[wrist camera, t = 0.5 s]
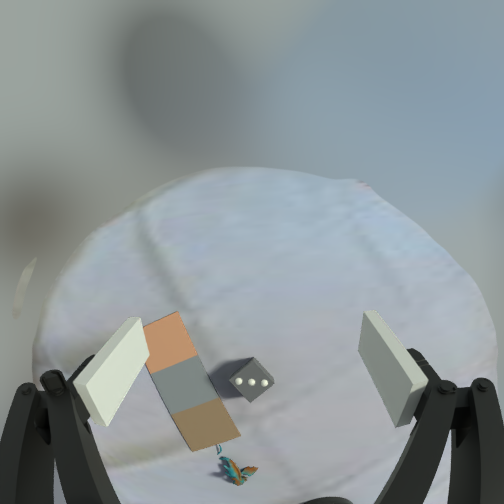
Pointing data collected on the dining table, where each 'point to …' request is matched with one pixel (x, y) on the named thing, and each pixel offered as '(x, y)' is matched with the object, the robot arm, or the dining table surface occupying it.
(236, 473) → the dragon figurine
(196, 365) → the game board
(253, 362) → the die
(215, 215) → the dining table surface
